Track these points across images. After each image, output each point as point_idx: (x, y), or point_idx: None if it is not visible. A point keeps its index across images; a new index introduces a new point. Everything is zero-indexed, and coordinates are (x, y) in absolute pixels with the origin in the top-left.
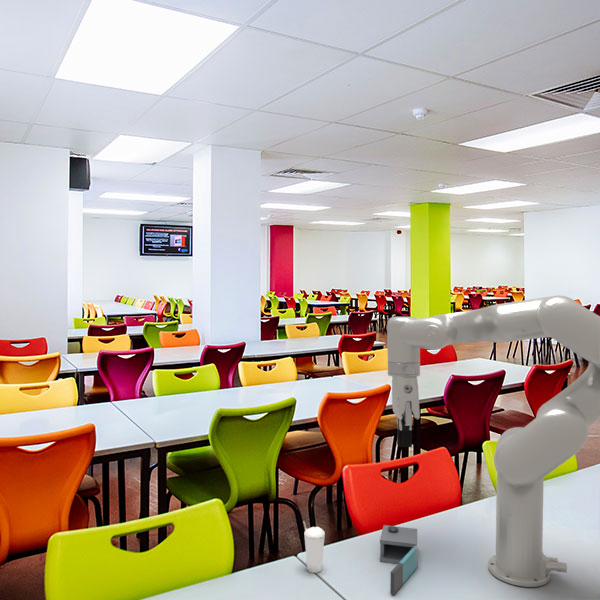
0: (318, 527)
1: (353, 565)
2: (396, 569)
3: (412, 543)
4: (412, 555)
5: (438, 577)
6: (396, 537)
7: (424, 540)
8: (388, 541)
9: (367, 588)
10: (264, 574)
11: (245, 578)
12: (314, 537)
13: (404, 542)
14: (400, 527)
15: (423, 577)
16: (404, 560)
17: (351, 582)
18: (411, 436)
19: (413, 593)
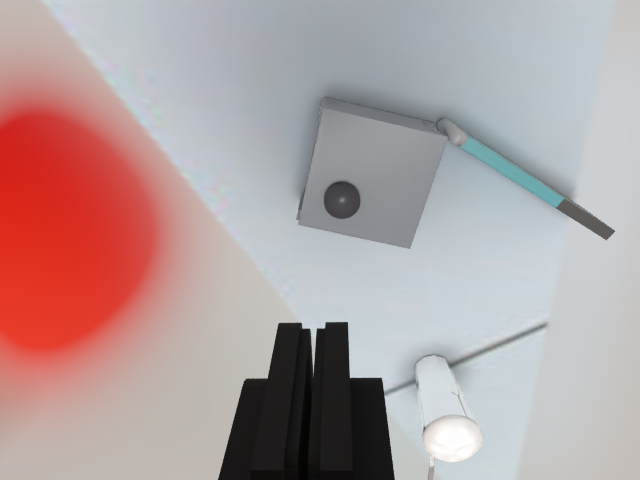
0: (444, 440)
1: (417, 287)
2: (596, 222)
3: (442, 147)
4: (496, 154)
5: (505, 61)
6: (393, 194)
7: (254, 57)
8: (417, 222)
9: (533, 264)
10: None
11: (458, 477)
12: (482, 440)
13: (433, 174)
14: (314, 169)
15: (499, 109)
16: (546, 190)
17: (500, 296)
18: (349, 398)
19: (578, 154)
